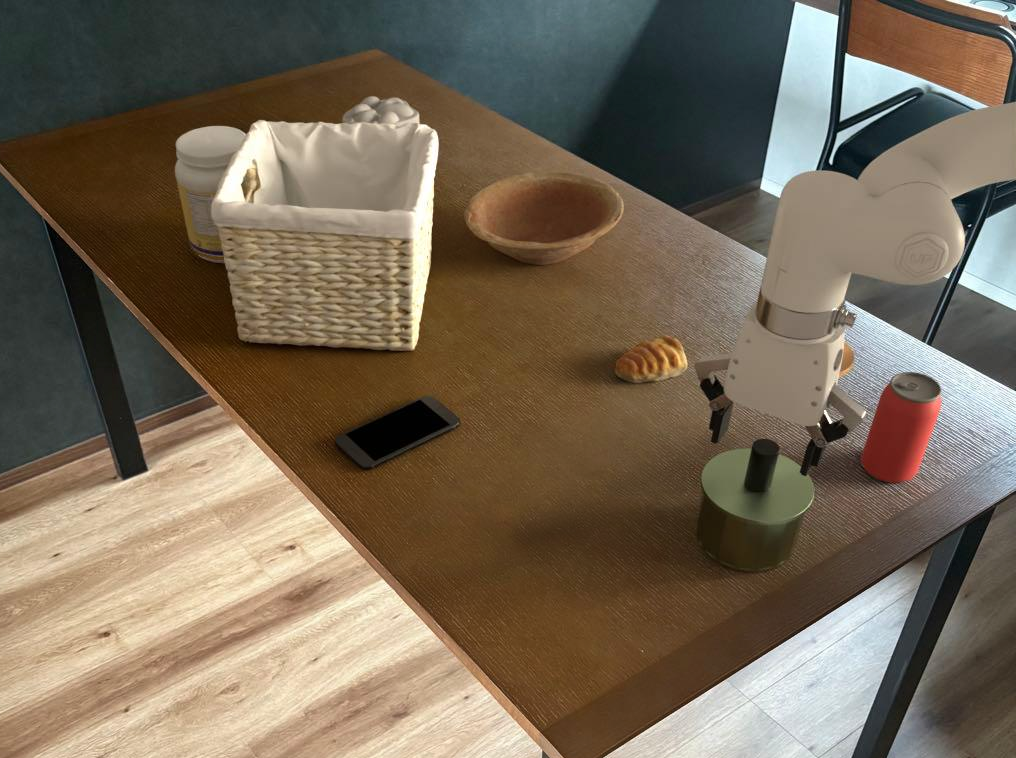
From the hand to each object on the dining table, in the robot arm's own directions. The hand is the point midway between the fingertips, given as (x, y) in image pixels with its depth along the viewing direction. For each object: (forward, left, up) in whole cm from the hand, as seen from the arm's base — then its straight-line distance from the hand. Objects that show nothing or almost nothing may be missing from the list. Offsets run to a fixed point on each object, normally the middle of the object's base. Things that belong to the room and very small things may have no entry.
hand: (762, 451), depth 112 cm
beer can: (-10, -21, -13) cm, 26 cm away
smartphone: (+43, +5, -12) cm, 45 cm away
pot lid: (0, 0, -5) cm, 5 cm away
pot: (0, 0, -12) cm, 12 cm away
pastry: (+22, -24, -13) cm, 35 cm away
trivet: (+5, -38, -12) cm, 40 cm away
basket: (+67, -16, -13) cm, 70 cm away
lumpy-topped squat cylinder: (+91, -59, -13) cm, 110 cm away
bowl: (+50, -44, -13) cm, 68 cm away
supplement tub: (+92, -20, -13) cm, 95 cm away
